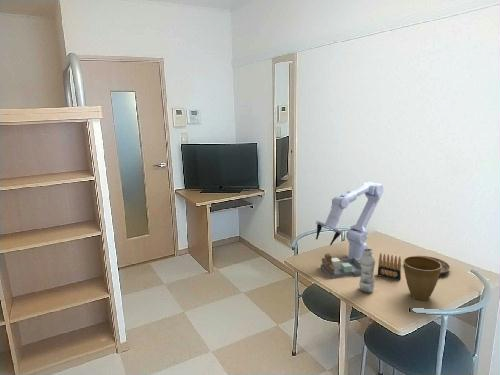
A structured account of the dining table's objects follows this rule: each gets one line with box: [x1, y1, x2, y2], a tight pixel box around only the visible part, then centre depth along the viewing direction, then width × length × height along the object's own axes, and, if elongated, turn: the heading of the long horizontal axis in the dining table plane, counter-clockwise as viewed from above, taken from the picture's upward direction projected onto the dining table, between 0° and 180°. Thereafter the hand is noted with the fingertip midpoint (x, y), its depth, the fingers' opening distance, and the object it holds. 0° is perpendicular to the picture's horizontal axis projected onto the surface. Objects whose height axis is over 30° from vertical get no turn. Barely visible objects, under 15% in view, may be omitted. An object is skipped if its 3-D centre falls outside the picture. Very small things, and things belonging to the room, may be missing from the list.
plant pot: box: [403, 255, 442, 301], centre depth 152 cm, size 15×15×16 cm
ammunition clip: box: [376, 252, 402, 281], centre depth 170 cm, size 11×2×12 cm, turn 56°
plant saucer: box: [421, 255, 451, 276], centre depth 178 cm, size 21×21×3 cm
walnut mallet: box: [321, 253, 334, 275], centre depth 177 cm, size 2×13×8 cm, turn 11°
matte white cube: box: [331, 257, 341, 267], centre depth 182 cm, size 4×4×3 cm
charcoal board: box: [320, 261, 354, 279], centre depth 179 cm, size 12×12×2 cm
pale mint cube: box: [341, 263, 352, 272], centre depth 176 cm, size 4×4×3 cm
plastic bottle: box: [358, 248, 376, 293], centre depth 158 cm, size 6×7×20 cm
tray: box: [341, 257, 361, 277], centre depth 180 cm, size 6×14×4 cm, turn 11°
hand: (323, 242), depth 179 cm, fingers open, 7 cm apart
